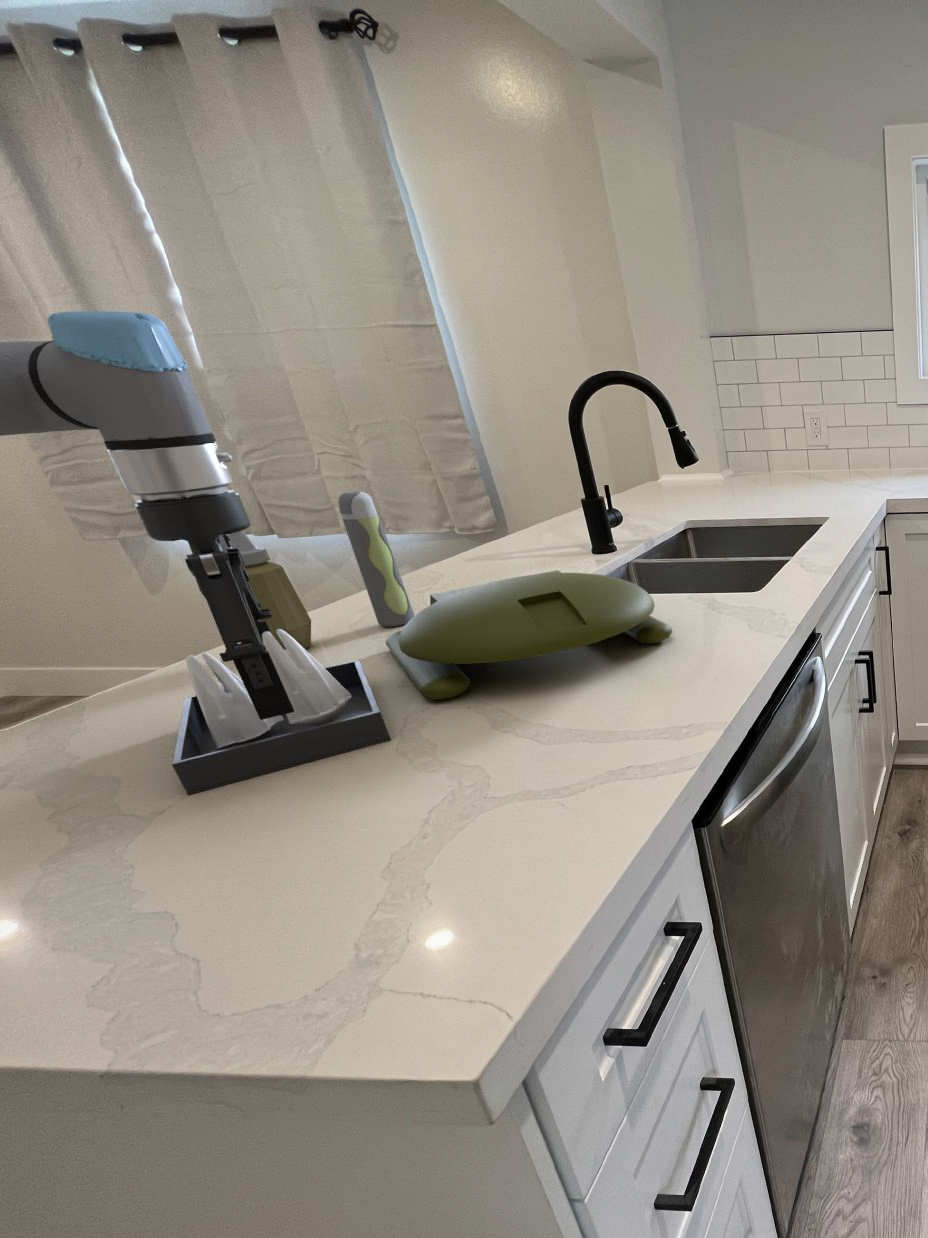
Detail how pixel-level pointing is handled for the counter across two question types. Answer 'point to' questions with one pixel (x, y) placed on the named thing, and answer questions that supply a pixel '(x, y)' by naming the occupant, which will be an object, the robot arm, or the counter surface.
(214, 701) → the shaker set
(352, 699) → the dark grey tray
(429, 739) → the counter surface
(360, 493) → the grey and green bar
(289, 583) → the squeeze bottle
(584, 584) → the spaceship
